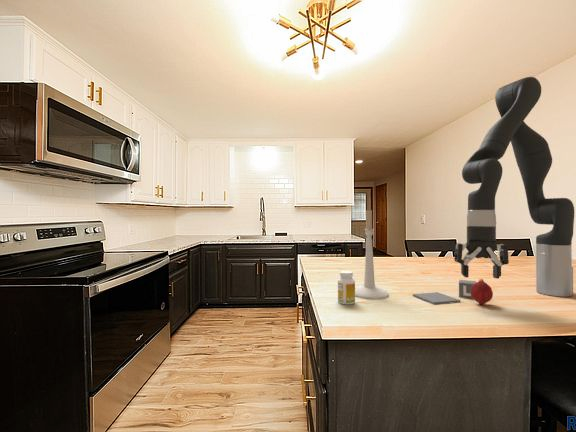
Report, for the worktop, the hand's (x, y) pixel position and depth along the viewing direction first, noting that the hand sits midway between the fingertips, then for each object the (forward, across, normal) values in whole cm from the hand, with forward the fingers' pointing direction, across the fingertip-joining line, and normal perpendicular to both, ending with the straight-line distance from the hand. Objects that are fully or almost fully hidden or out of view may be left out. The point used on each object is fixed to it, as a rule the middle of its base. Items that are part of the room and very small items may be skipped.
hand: (480, 277), depth 91 cm
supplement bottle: (+9, +41, +3) cm, 42 cm away
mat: (+8, +11, -5) cm, 15 cm away
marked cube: (+8, 0, -10) cm, 13 cm away
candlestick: (+9, +32, -8) cm, 34 cm away
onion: (+9, 0, 0) cm, 9 cm away
